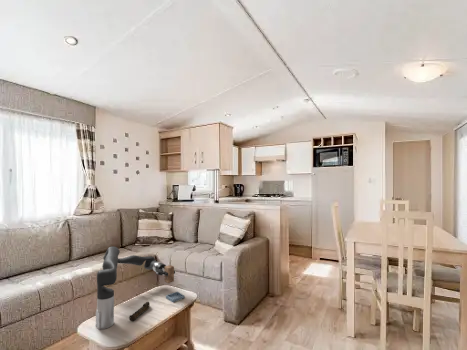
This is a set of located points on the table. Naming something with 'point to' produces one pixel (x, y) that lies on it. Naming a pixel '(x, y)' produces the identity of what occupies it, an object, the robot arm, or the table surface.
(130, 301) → the table surface
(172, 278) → the walnut block
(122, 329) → the table surface
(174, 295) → the tray
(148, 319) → the table surface
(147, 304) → the brown rough rod
